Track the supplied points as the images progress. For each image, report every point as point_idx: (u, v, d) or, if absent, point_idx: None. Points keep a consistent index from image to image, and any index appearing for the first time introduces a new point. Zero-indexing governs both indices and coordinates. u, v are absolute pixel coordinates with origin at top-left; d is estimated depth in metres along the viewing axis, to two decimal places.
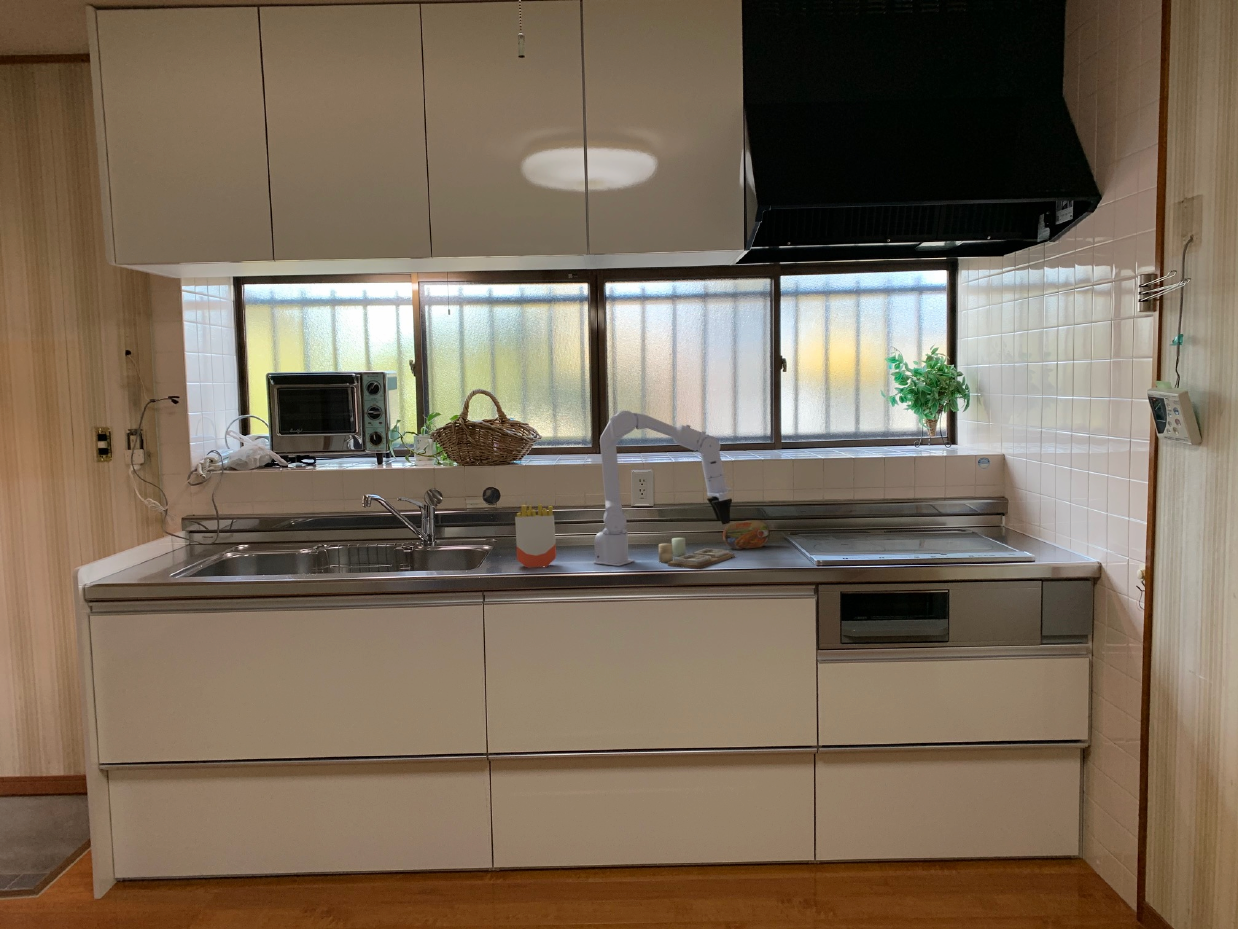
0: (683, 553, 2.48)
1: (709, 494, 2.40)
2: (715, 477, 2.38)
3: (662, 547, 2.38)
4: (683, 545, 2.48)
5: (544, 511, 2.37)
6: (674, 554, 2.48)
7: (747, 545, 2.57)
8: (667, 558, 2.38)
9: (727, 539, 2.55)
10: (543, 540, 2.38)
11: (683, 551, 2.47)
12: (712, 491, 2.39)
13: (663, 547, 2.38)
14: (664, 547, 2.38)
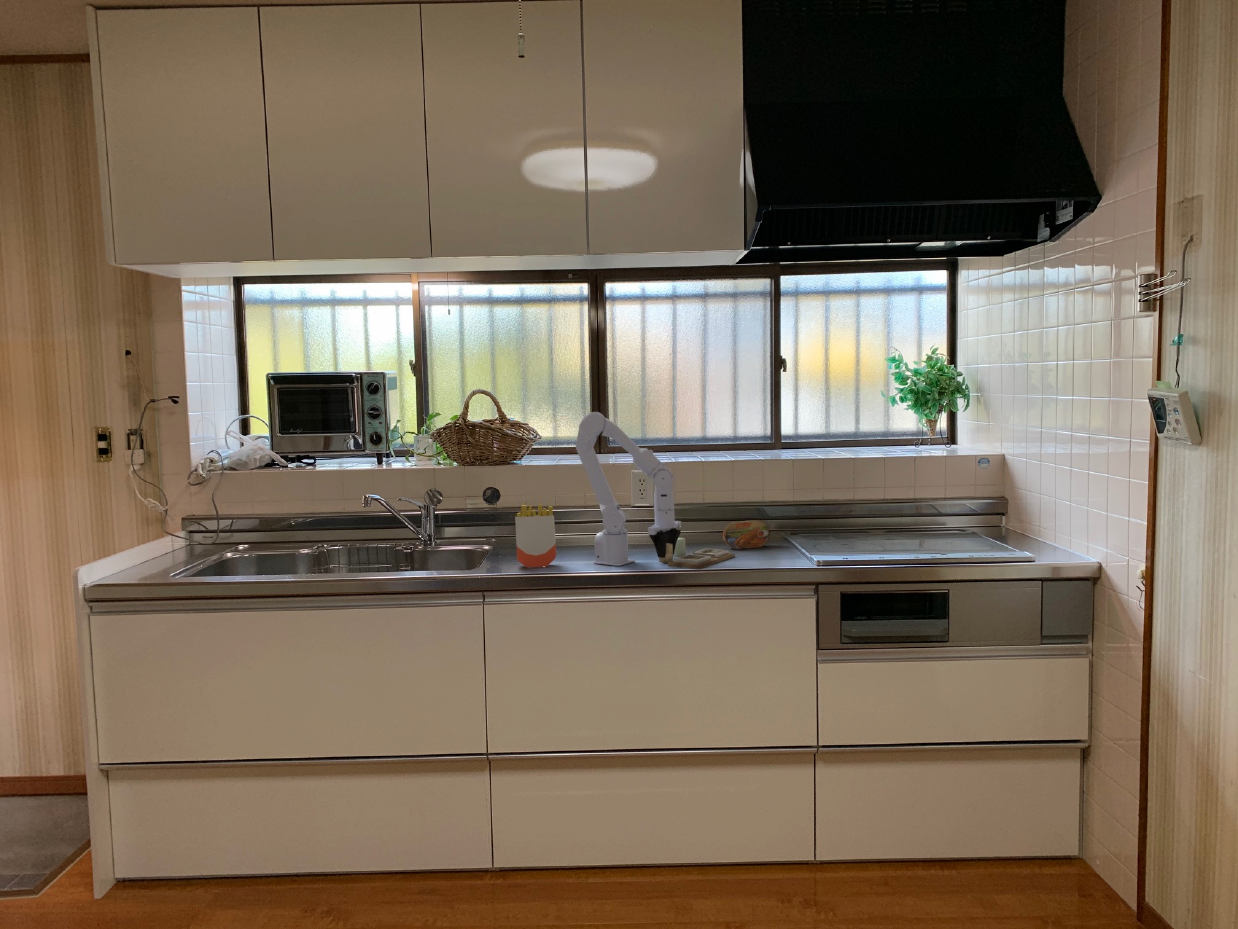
0: (683, 553, 2.48)
1: None
2: (658, 510, 2.37)
3: None
4: (683, 545, 2.48)
5: (544, 511, 2.37)
6: (674, 554, 2.48)
7: (747, 545, 2.57)
8: (667, 558, 2.38)
9: (727, 539, 2.55)
10: (543, 540, 2.38)
11: (683, 551, 2.47)
12: (655, 523, 2.38)
13: None
14: None
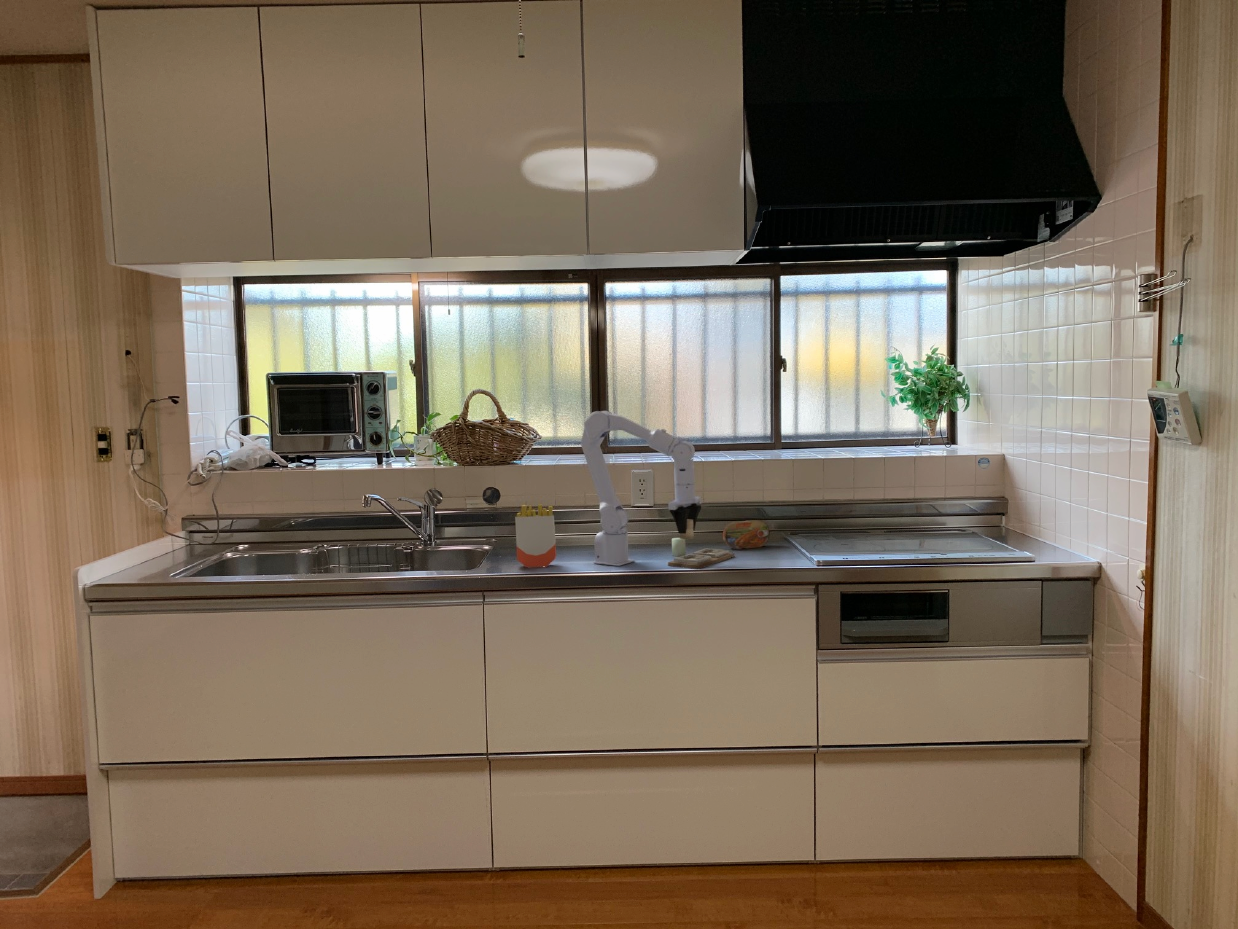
0: (683, 553, 2.48)
1: None
2: (678, 485, 2.32)
3: None
4: (683, 545, 2.48)
5: (544, 511, 2.37)
6: (674, 554, 2.48)
7: (747, 545, 2.57)
8: (688, 534, 2.33)
9: (727, 539, 2.55)
10: (543, 540, 2.38)
11: (683, 551, 2.47)
12: (675, 498, 2.34)
13: None
14: None
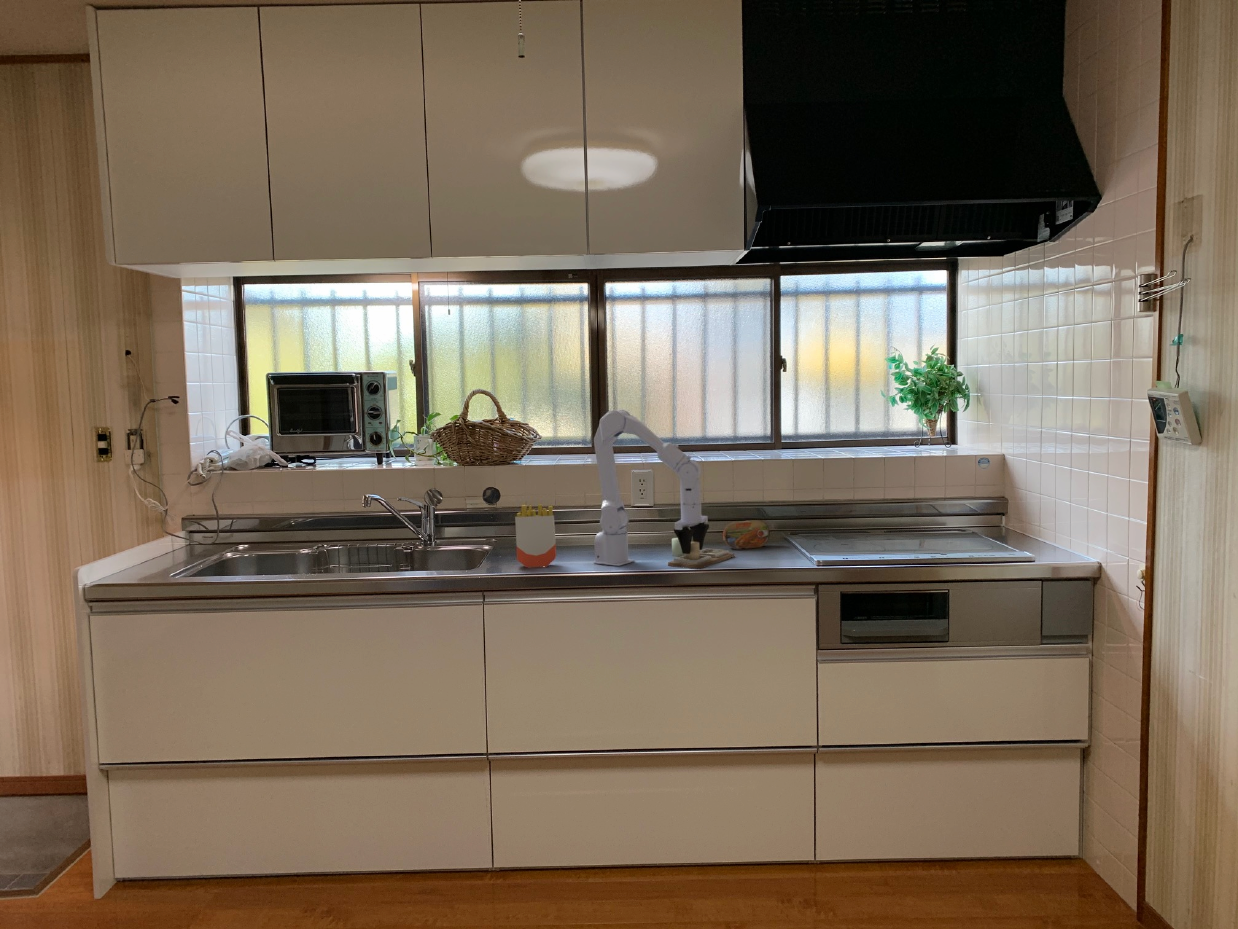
0: None
1: None
2: (684, 505, 2.31)
3: None
4: None
5: (544, 511, 2.37)
6: (674, 554, 2.48)
7: (747, 545, 2.57)
8: (694, 557, 2.33)
9: (727, 539, 2.55)
10: (543, 540, 2.38)
11: None
12: (681, 518, 2.33)
13: None
14: (691, 545, 2.32)
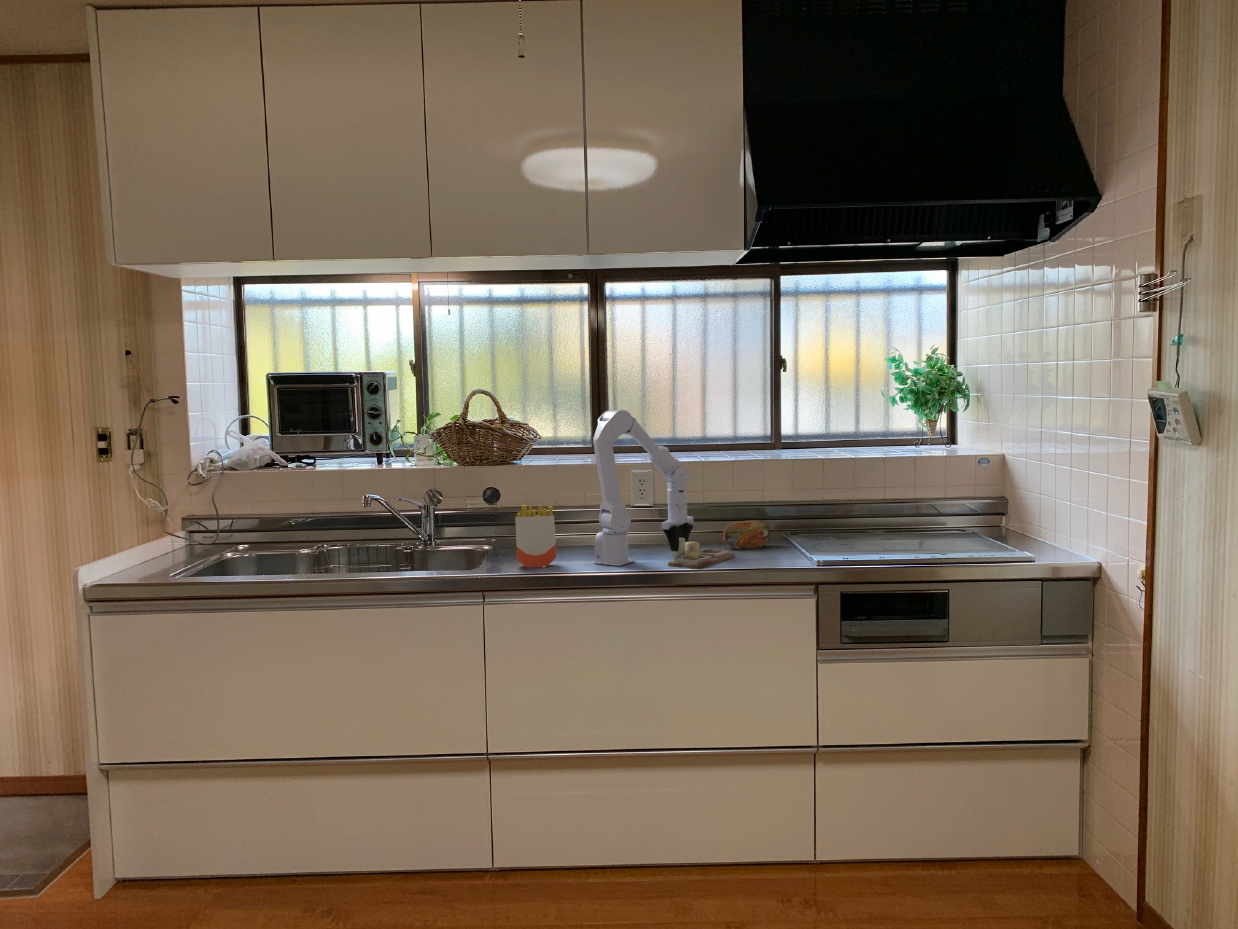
0: (683, 553, 2.48)
1: None
2: (671, 506, 2.46)
3: (689, 545, 2.33)
4: (683, 545, 2.48)
5: (544, 511, 2.37)
6: (674, 554, 2.48)
7: (747, 545, 2.57)
8: (694, 557, 2.32)
9: (727, 539, 2.55)
10: (543, 540, 2.38)
11: (683, 551, 2.47)
12: (668, 518, 2.48)
13: (690, 545, 2.32)
14: (691, 545, 2.32)
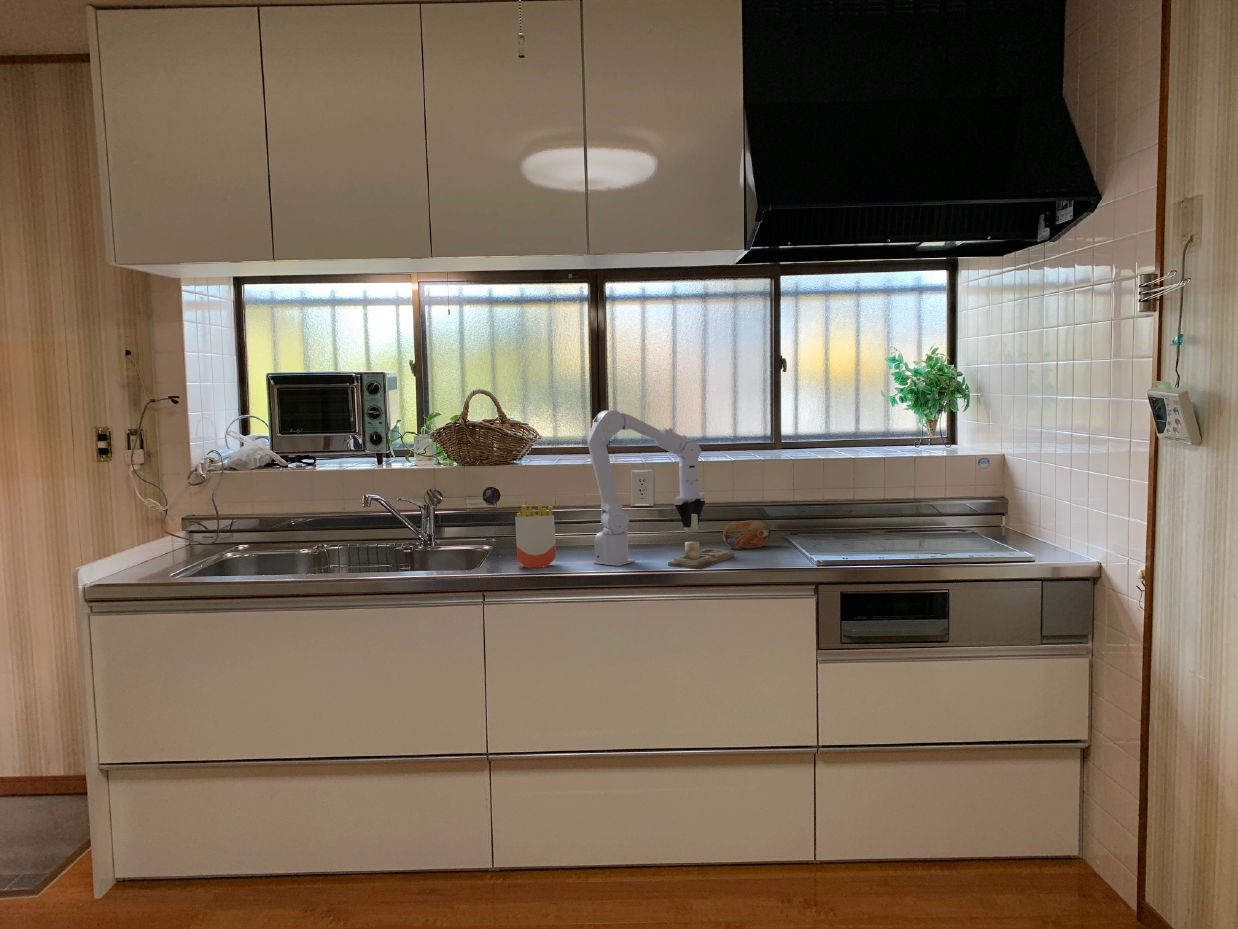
0: (695, 529, 2.45)
1: None
2: (683, 481, 2.43)
3: (688, 545, 2.33)
4: (695, 521, 2.44)
5: (544, 511, 2.37)
6: (686, 530, 2.45)
7: (747, 545, 2.57)
8: (693, 557, 2.33)
9: (727, 539, 2.55)
10: (543, 540, 2.38)
11: (695, 527, 2.44)
12: (680, 494, 2.44)
13: (690, 545, 2.32)
14: (691, 545, 2.32)
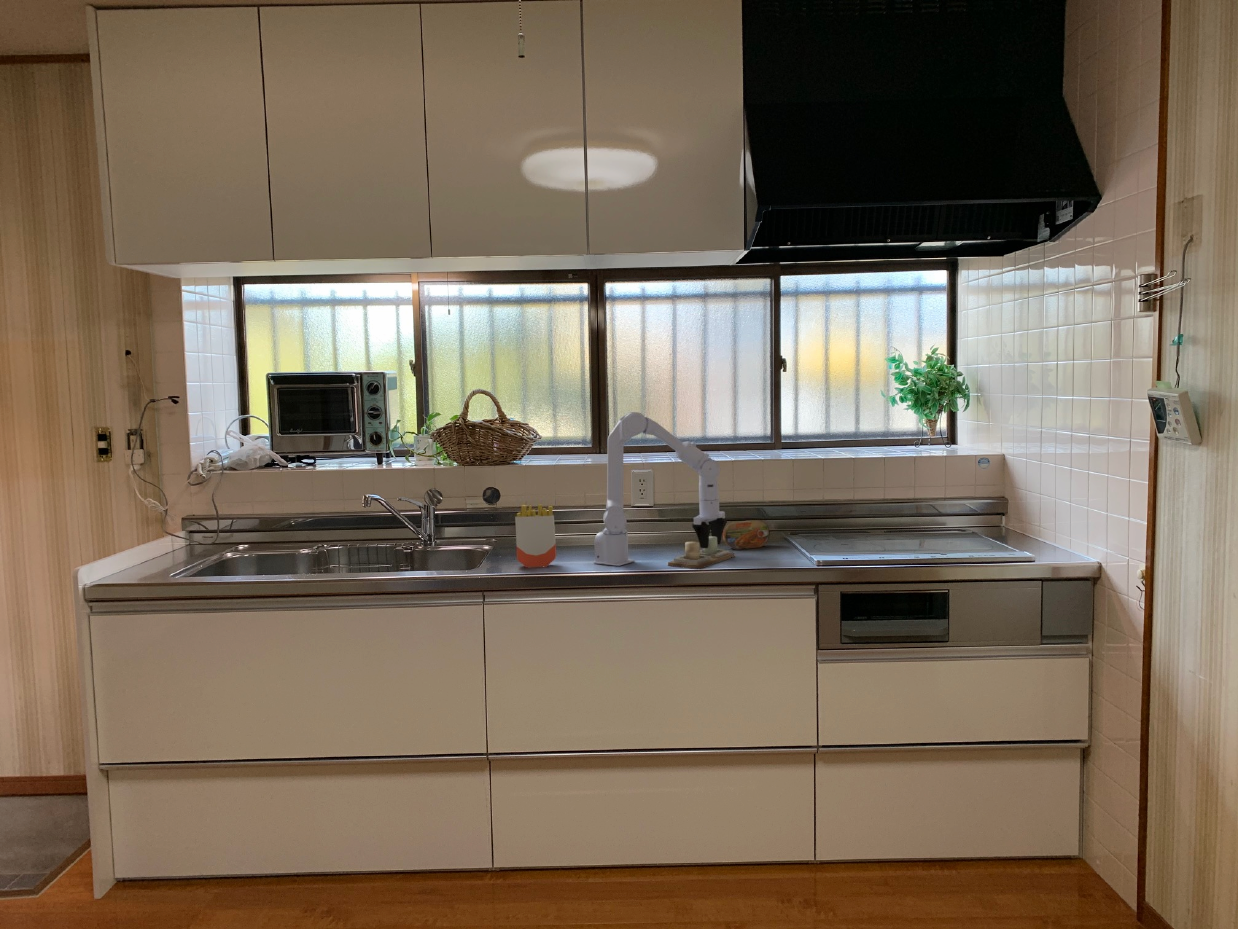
0: (715, 552, 2.41)
1: None
2: (703, 500, 2.39)
3: (689, 545, 2.33)
4: (715, 544, 2.41)
5: (544, 511, 2.37)
6: None
7: (747, 545, 2.57)
8: (693, 557, 2.32)
9: (727, 539, 2.55)
10: (543, 540, 2.38)
11: (715, 550, 2.41)
12: (700, 513, 2.41)
13: (690, 545, 2.32)
14: (691, 545, 2.32)
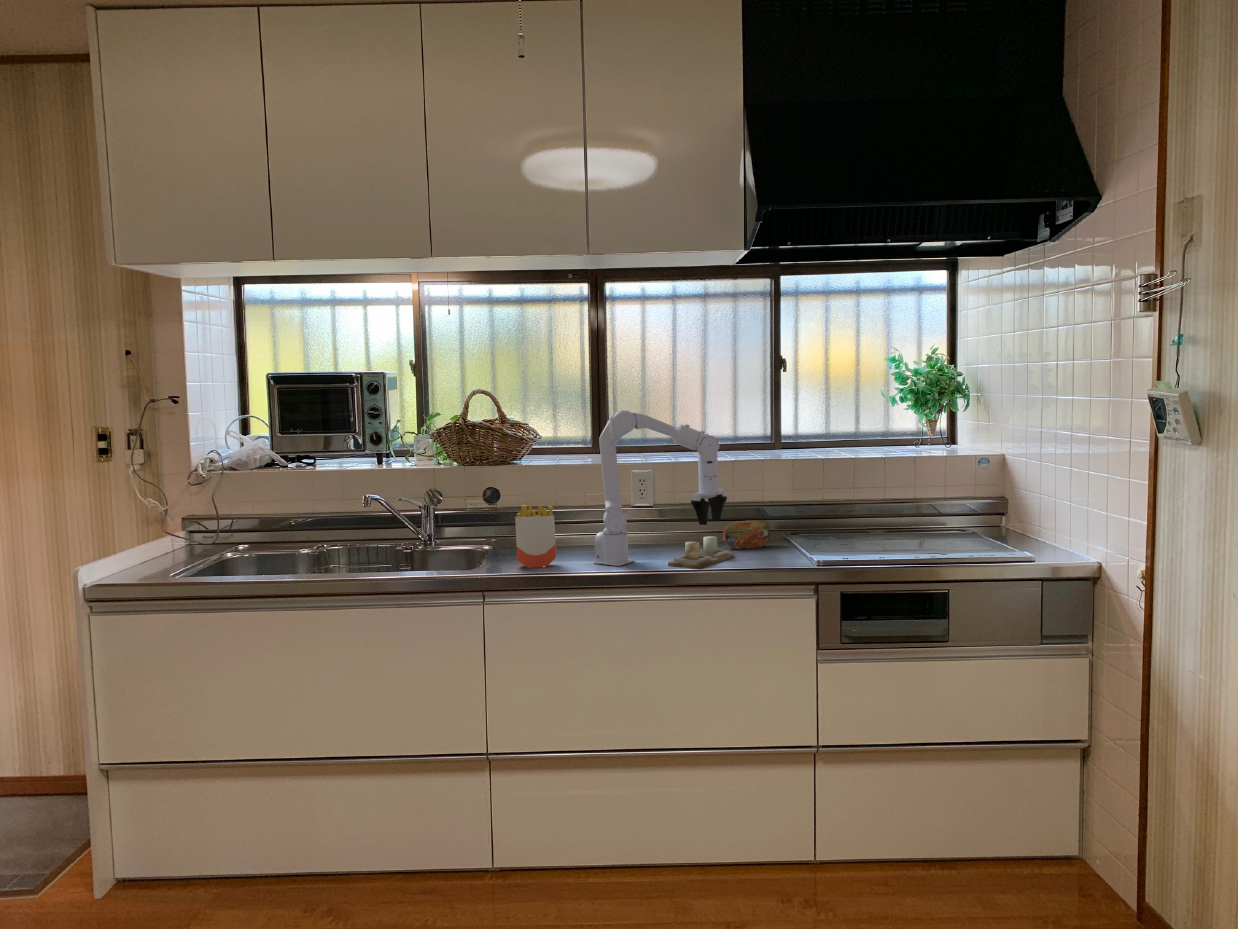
0: (715, 552, 2.41)
1: None
2: (702, 477, 2.39)
3: (689, 545, 2.33)
4: (715, 544, 2.41)
5: (544, 511, 2.37)
6: None
7: (747, 545, 2.57)
8: (693, 557, 2.32)
9: (727, 539, 2.55)
10: (543, 540, 2.38)
11: (715, 550, 2.41)
12: (699, 490, 2.40)
13: (690, 545, 2.32)
14: (691, 545, 2.32)
